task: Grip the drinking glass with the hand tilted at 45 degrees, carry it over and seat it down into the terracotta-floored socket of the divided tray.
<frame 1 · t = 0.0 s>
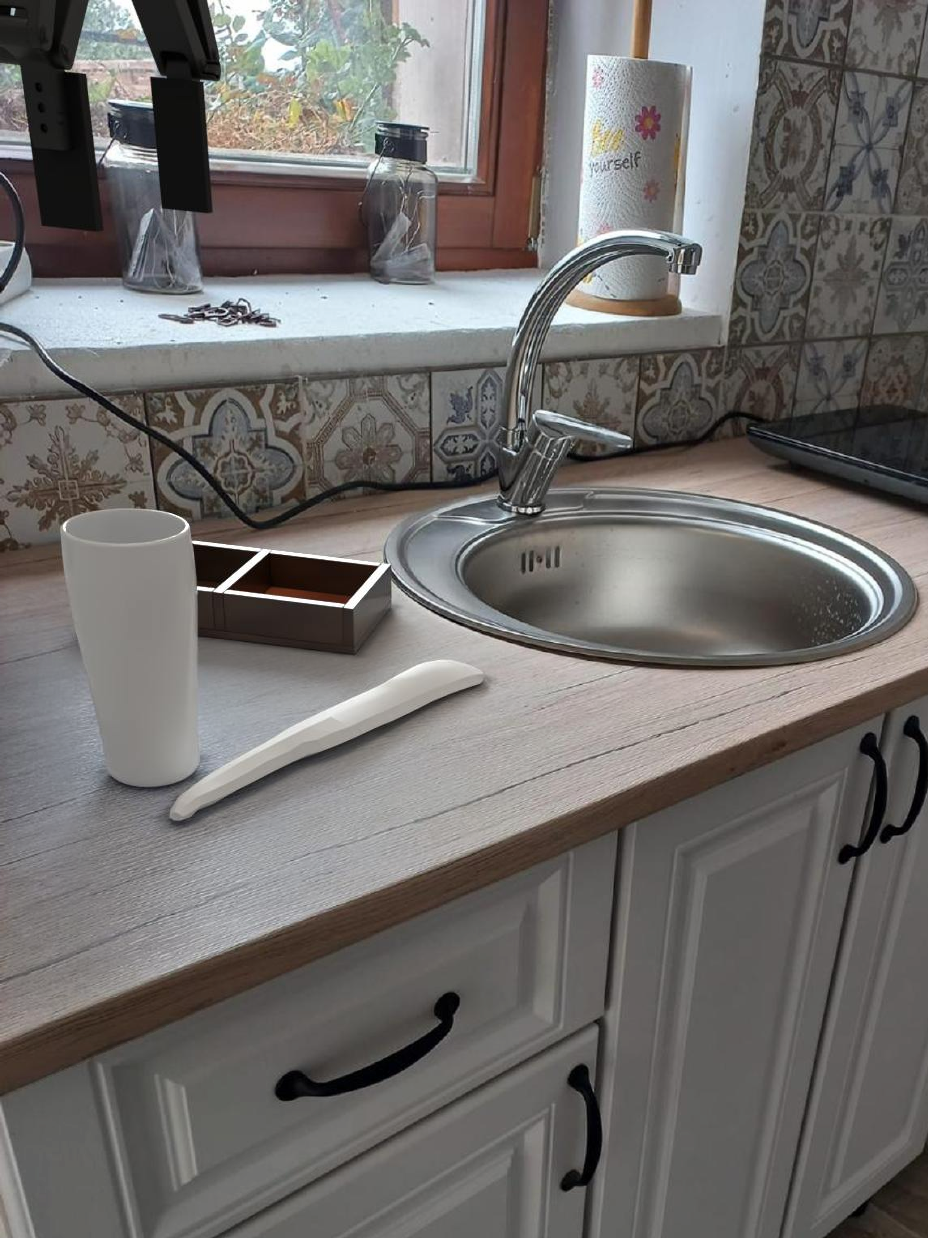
hand: (135, 219, 65), 29 cm above the worktop, tool pointing down, fingers open, 13 cm apart
spatula: (335, 739, 80), on the worktop
divided tray: (246, 613, 97), on the worktop
drinking glass: (154, 773, 75), on the worktop
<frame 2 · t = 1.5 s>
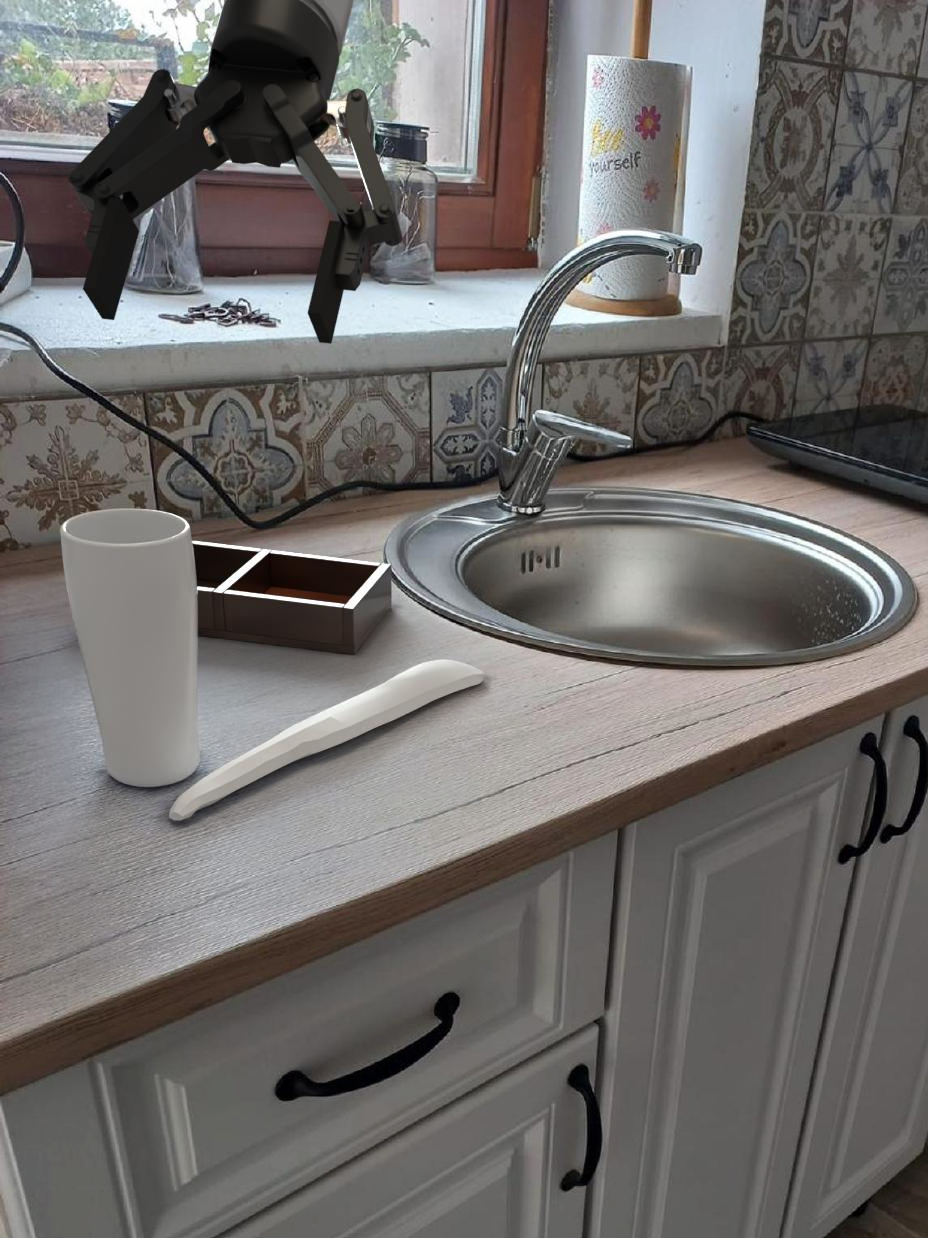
hand: (208, 317, 74), 24 cm above the worktop, tool tilted 45°, fingers open, 13 cm apart
nothing on the worktop moved.
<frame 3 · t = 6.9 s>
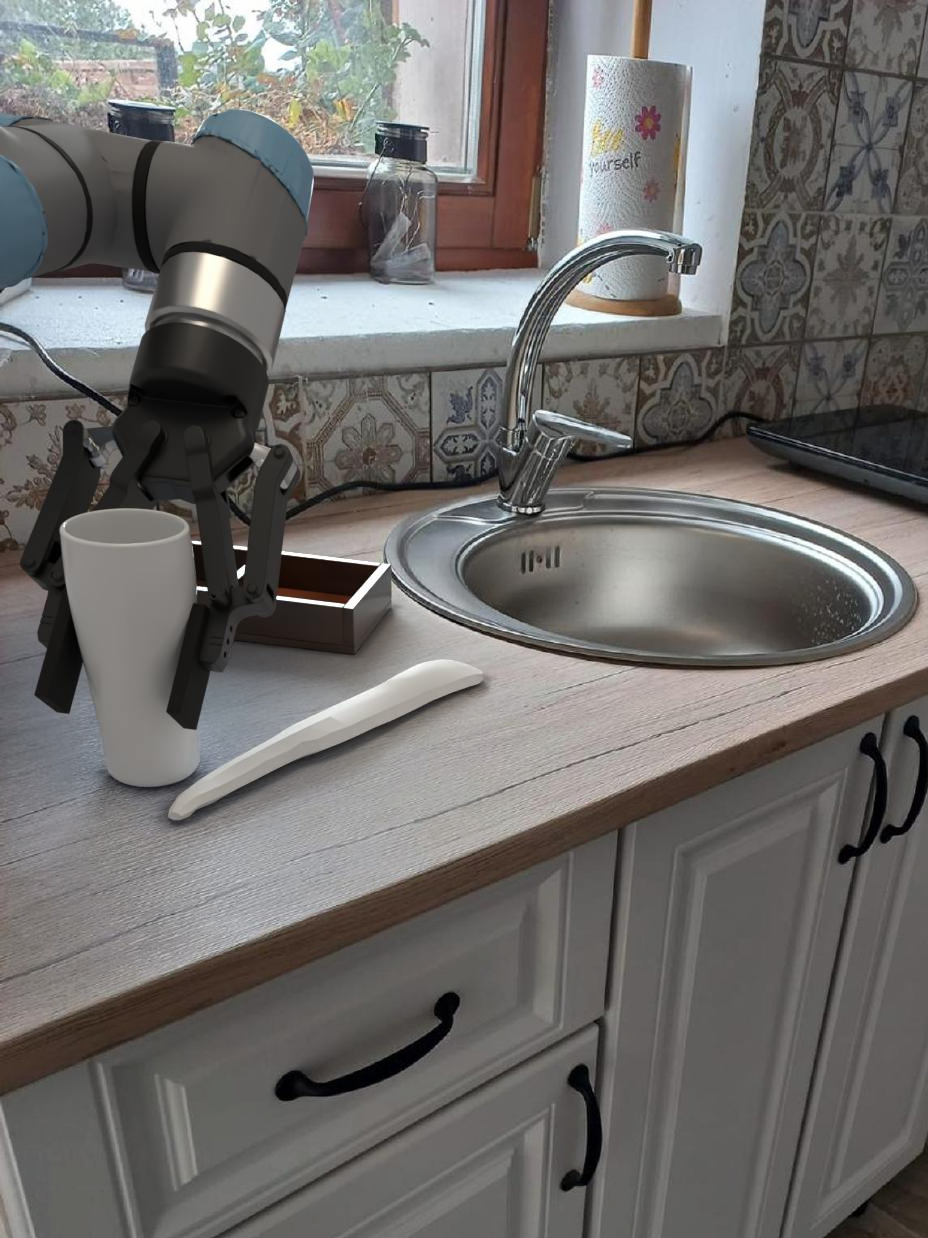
hand: (116, 712, 69), 5 cm above the worktop, tool tilted 45°, fingers closed on drinking glass, 7 cm apart
drinking glass: (154, 772, 75), on the worktop, touching gripper
everything else where it was.
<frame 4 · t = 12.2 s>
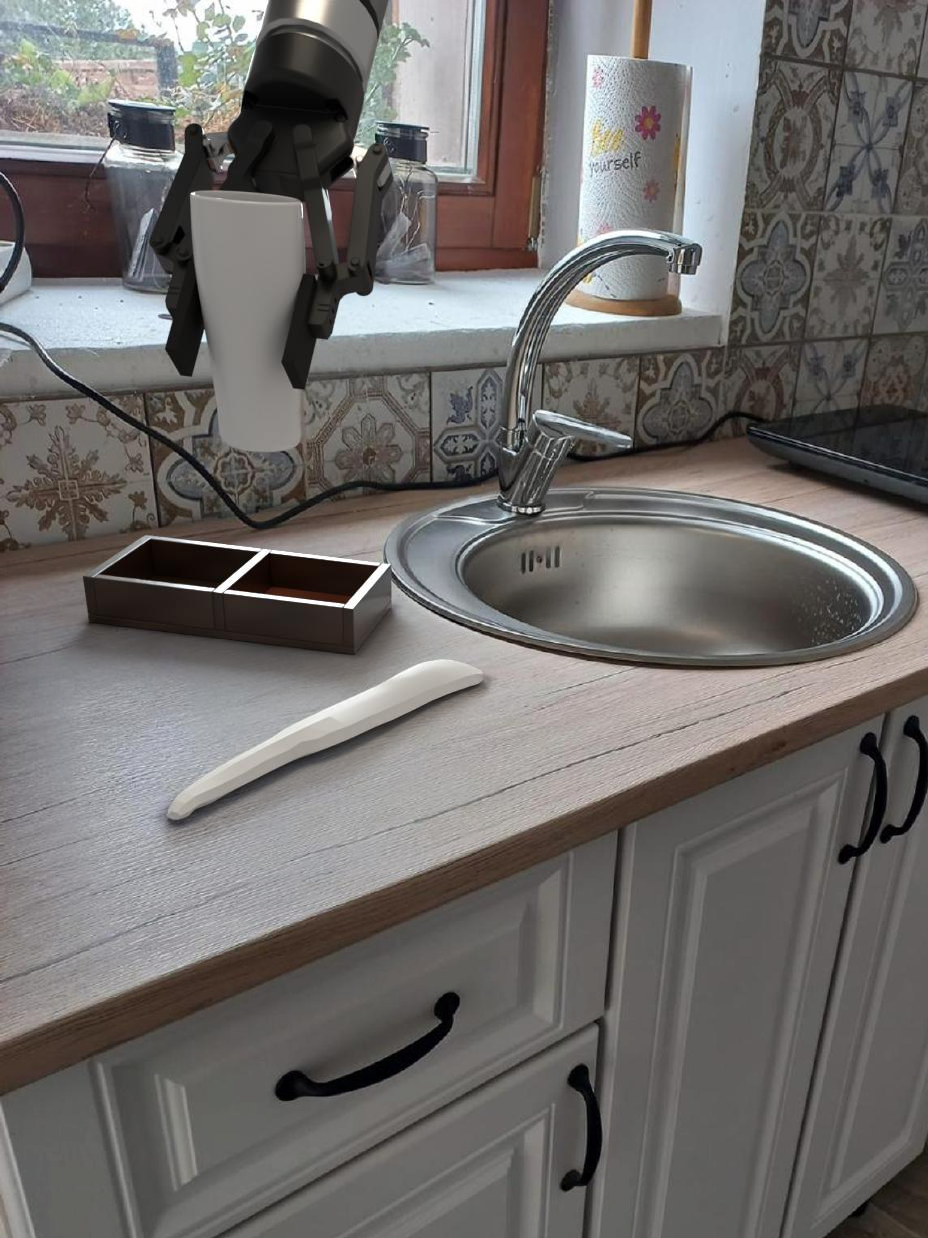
hand: (235, 369, 78), 21 cm above the worktop, tool tilted 45°, fingers closed on drinking glass, 7 cm apart
drinking glass: (261, 447, 84), point 15 cm above the worktop, touching gripper
everything else where it was.
when the fingers open (6 cm above the worktop, at t = 17.3 s): drinking glass stays where it is, resting on divided tray.
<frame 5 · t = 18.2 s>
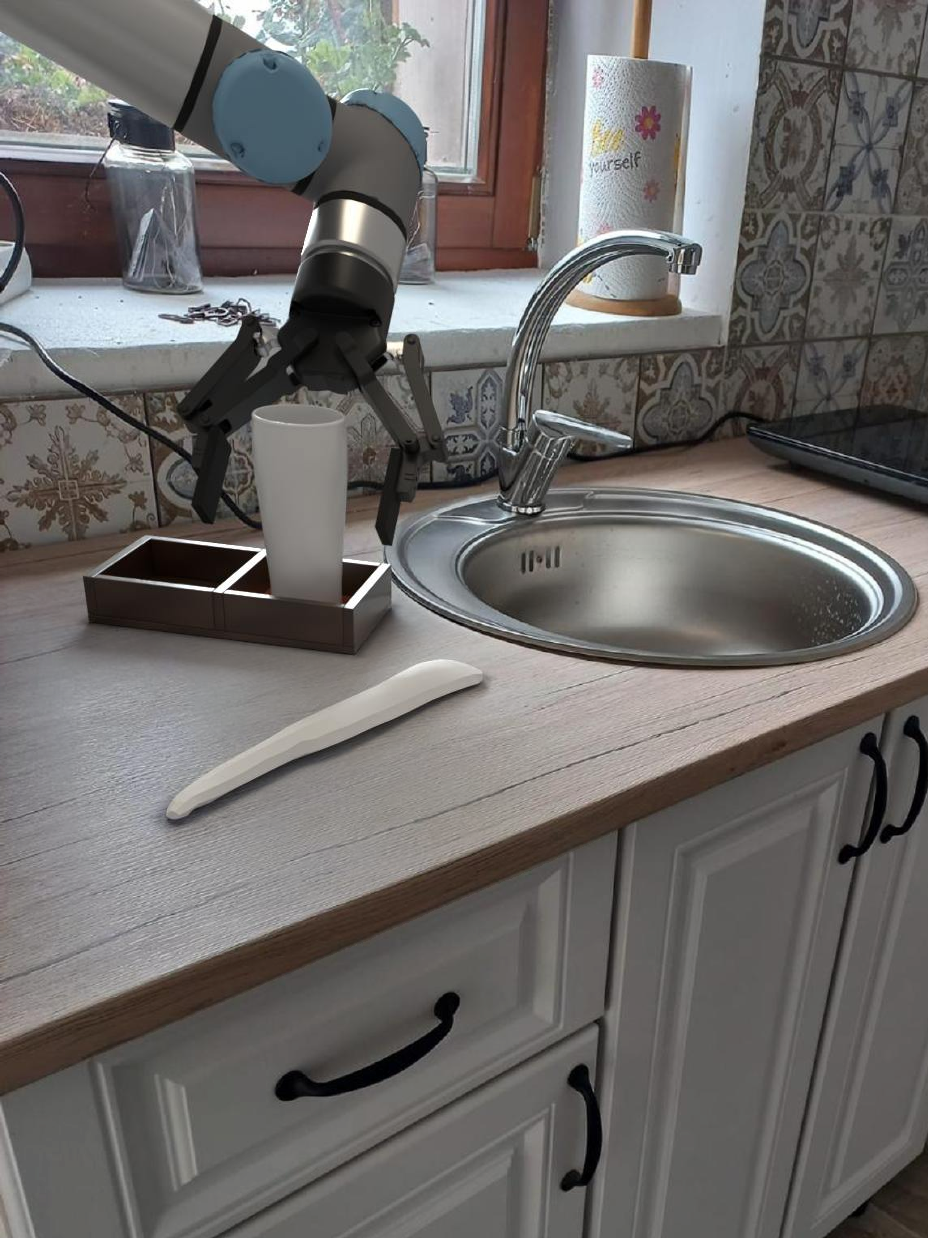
hand: (292, 526, 91), 8 cm above the worktop, tool tilted 45°, fingers open, 13 cm apart
drinking glass: (307, 613, 97), point 1 cm above the worktop, touching divided tray
everything else where it was.
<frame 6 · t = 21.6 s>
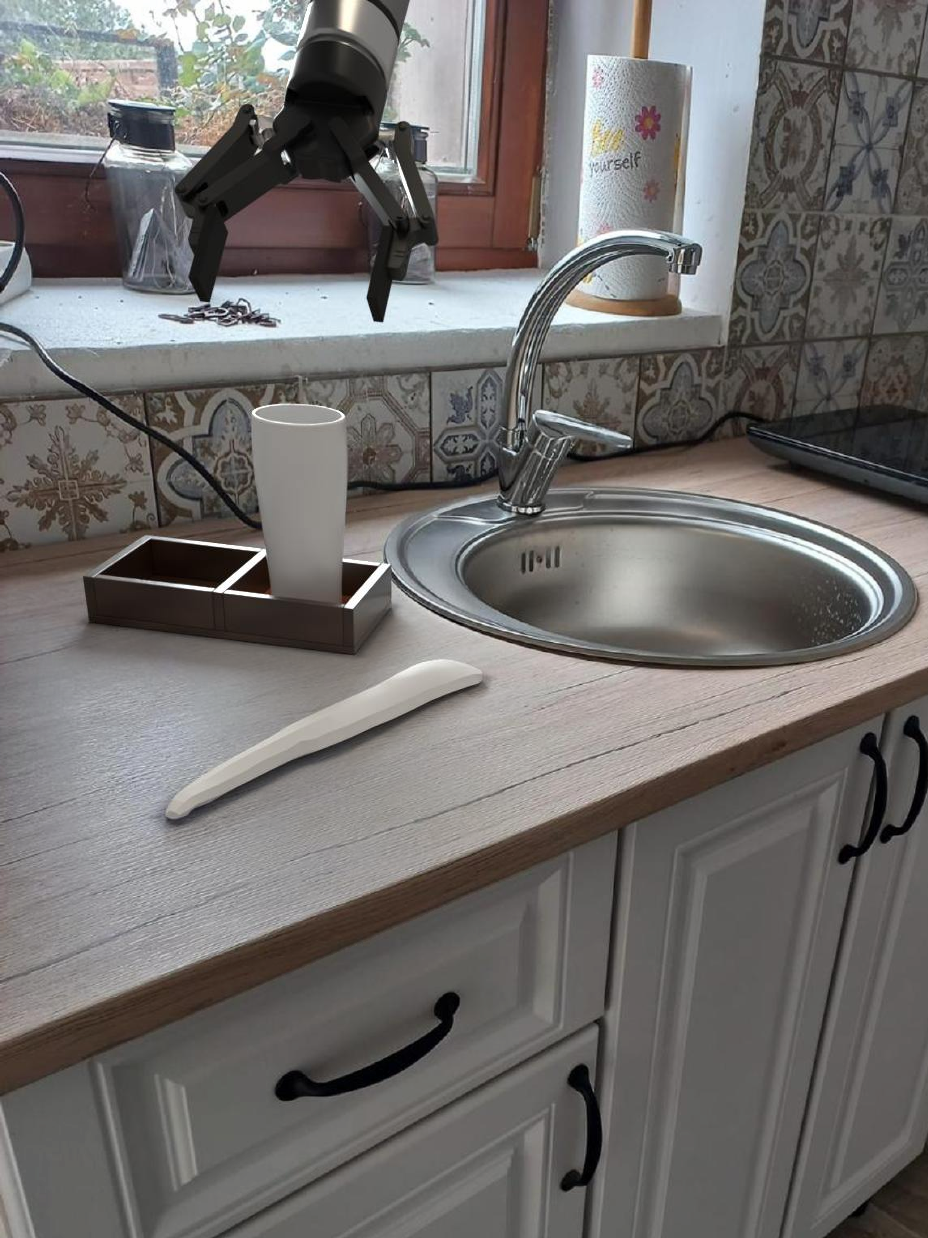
hand: (286, 300, 94), 22 cm above the worktop, tool tilted 45°, fingers open, 13 cm apart
nothing on the worktop moved.
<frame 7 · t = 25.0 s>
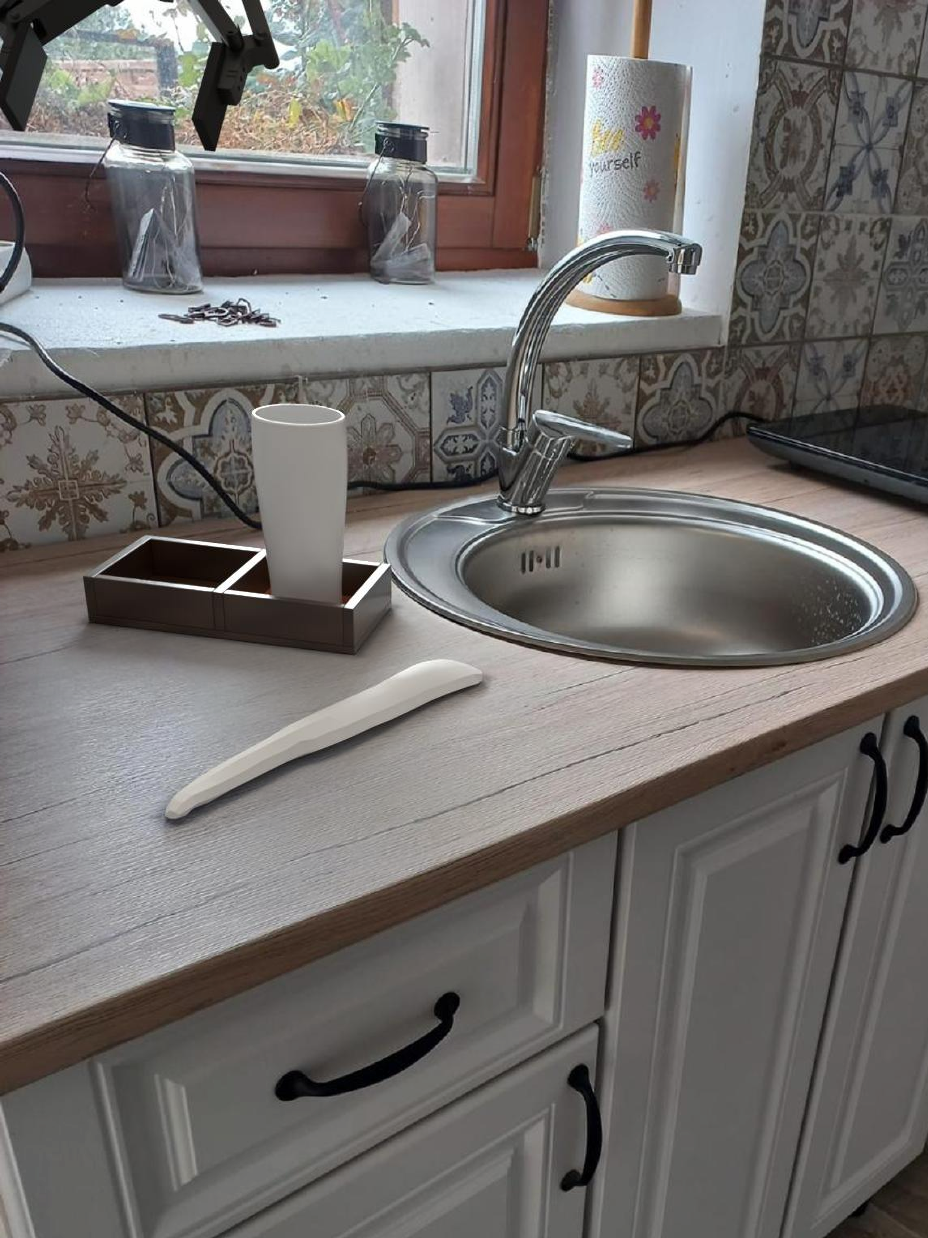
hand: (105, 125, 84), 33 cm above the worktop, tool tilted 45°, fingers open, 13 cm apart
nothing on the worktop moved.
at the end: drinking glass 0.1 cm from the target spot in the divided tray, point 0.6 cm above the divided tray's base; drinking glass tilted 0°; the gripper is holding nothing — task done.
